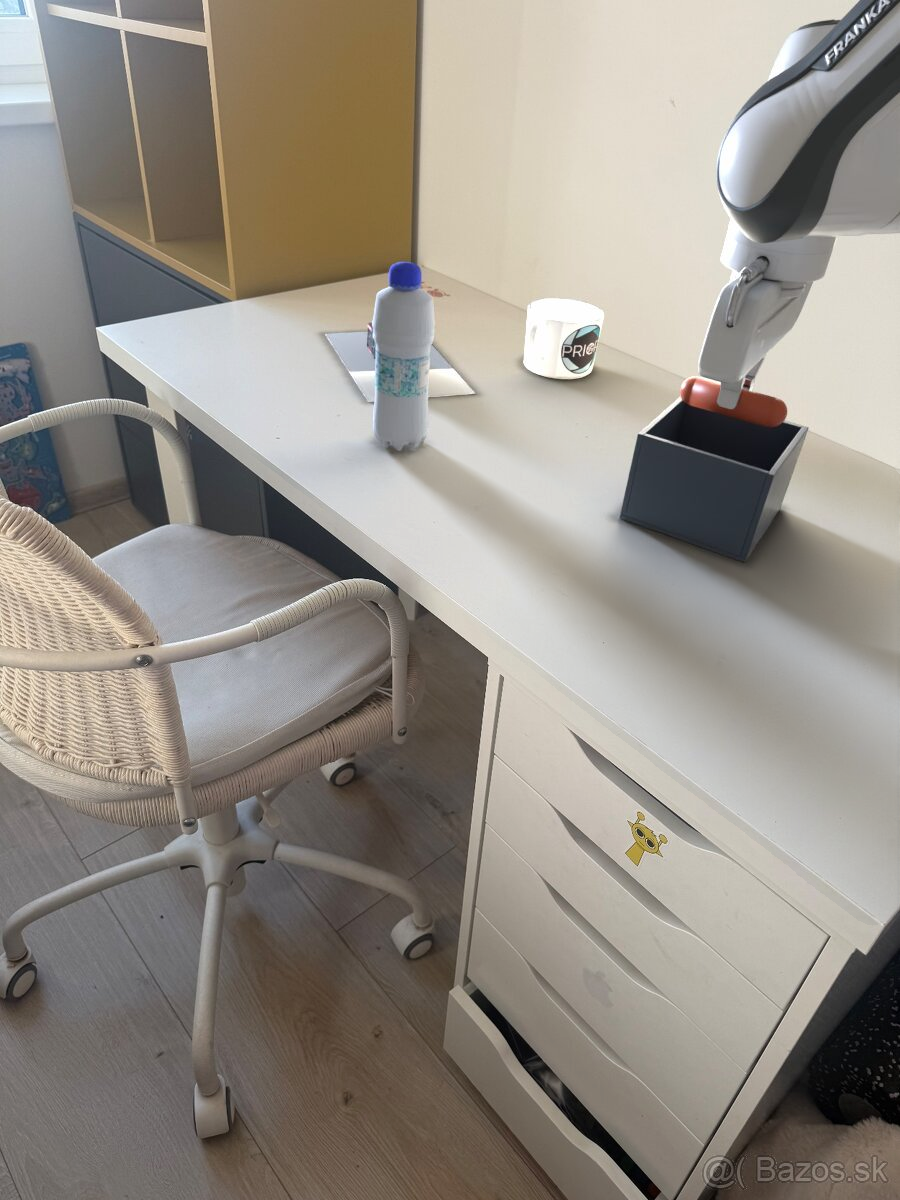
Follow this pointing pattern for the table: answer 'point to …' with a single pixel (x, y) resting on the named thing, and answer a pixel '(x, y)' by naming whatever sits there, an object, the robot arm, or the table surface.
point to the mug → (562, 337)
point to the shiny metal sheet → (360, 363)
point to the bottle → (402, 358)
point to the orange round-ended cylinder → (748, 409)
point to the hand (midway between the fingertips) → (733, 398)
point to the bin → (710, 477)
